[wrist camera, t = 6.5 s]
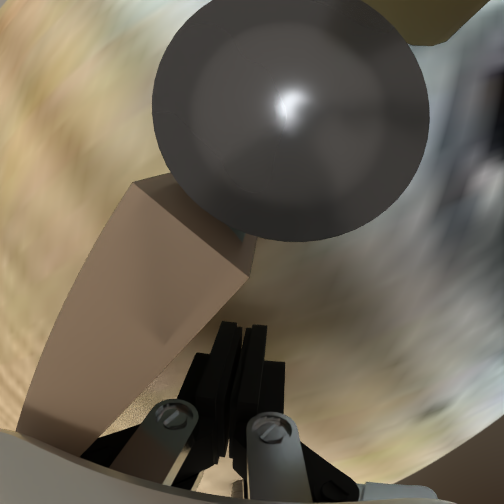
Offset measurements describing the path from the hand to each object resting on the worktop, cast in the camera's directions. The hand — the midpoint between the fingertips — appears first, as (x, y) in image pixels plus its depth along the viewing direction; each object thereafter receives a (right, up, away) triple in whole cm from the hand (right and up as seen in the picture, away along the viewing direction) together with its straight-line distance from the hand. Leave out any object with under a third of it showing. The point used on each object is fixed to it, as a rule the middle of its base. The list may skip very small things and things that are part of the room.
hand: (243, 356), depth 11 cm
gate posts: (+1, -2, +3) cm, 4 cm away
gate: (-6, 0, +2) cm, 6 cm away
